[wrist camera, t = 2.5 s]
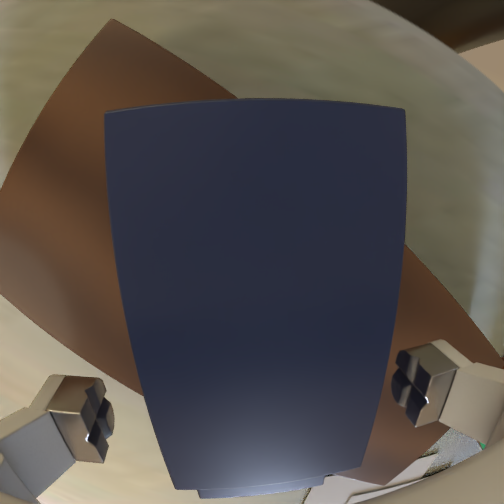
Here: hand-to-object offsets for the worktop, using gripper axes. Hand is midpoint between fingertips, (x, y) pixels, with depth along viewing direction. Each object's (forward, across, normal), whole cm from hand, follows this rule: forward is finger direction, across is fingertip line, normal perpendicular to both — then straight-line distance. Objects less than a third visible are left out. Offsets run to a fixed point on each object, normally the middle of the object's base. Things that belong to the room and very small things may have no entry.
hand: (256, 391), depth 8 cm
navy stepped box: (+4, 0, 0) cm, 4 cm away
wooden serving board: (+9, -2, +2) cm, 10 cm away
